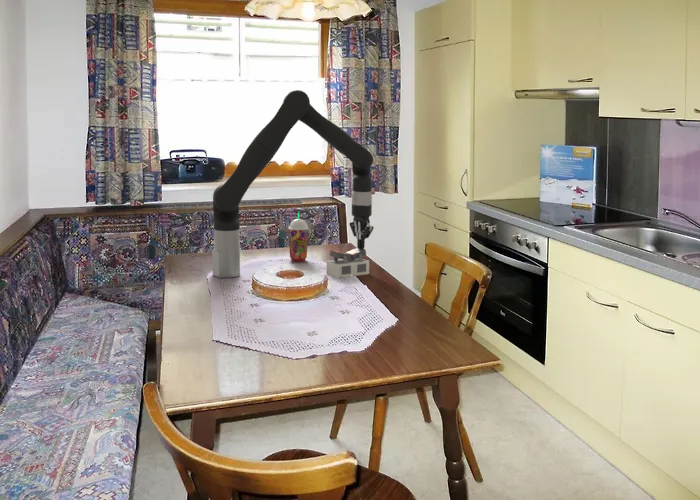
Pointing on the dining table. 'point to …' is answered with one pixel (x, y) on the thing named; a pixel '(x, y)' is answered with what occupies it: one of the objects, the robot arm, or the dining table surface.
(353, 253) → the rocker
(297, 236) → the smoothie
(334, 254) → the rocker
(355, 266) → the rocker switch box
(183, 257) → the dining table surface
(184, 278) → the dining table surface
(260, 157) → the robot arm
